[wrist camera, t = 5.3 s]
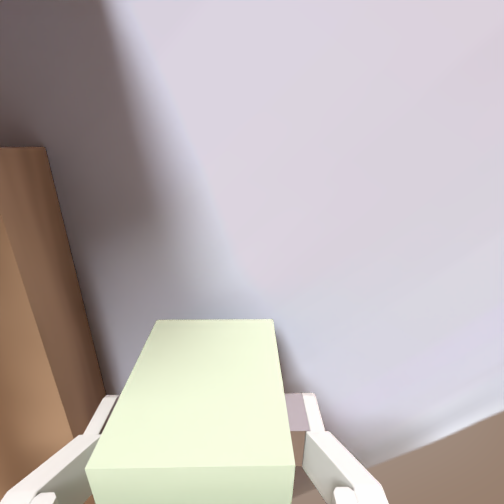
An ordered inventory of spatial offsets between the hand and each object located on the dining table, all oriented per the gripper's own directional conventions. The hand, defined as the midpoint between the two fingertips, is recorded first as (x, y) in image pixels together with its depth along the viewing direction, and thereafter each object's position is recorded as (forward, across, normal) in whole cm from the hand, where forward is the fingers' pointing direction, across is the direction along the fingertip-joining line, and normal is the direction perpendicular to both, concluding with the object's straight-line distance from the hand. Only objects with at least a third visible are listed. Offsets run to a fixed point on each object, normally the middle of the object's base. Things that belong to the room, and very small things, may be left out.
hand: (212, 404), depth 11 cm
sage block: (+2, 0, 0) cm, 2 cm away
